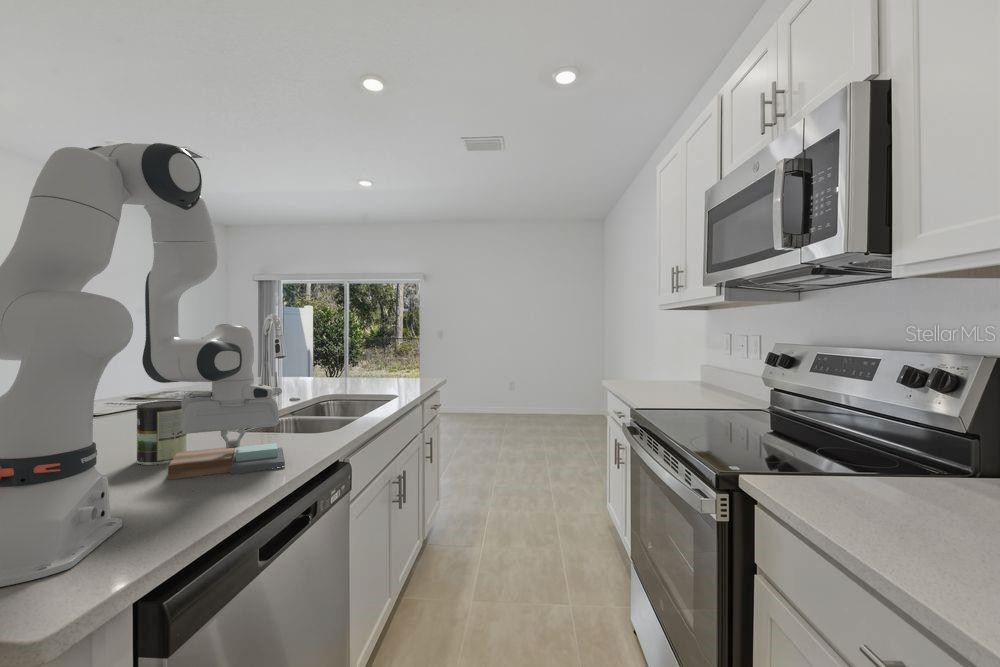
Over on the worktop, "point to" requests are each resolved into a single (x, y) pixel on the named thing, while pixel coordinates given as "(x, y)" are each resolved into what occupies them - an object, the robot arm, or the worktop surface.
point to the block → (256, 452)
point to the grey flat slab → (257, 463)
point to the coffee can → (159, 432)
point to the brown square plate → (201, 462)
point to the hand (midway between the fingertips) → (233, 447)
